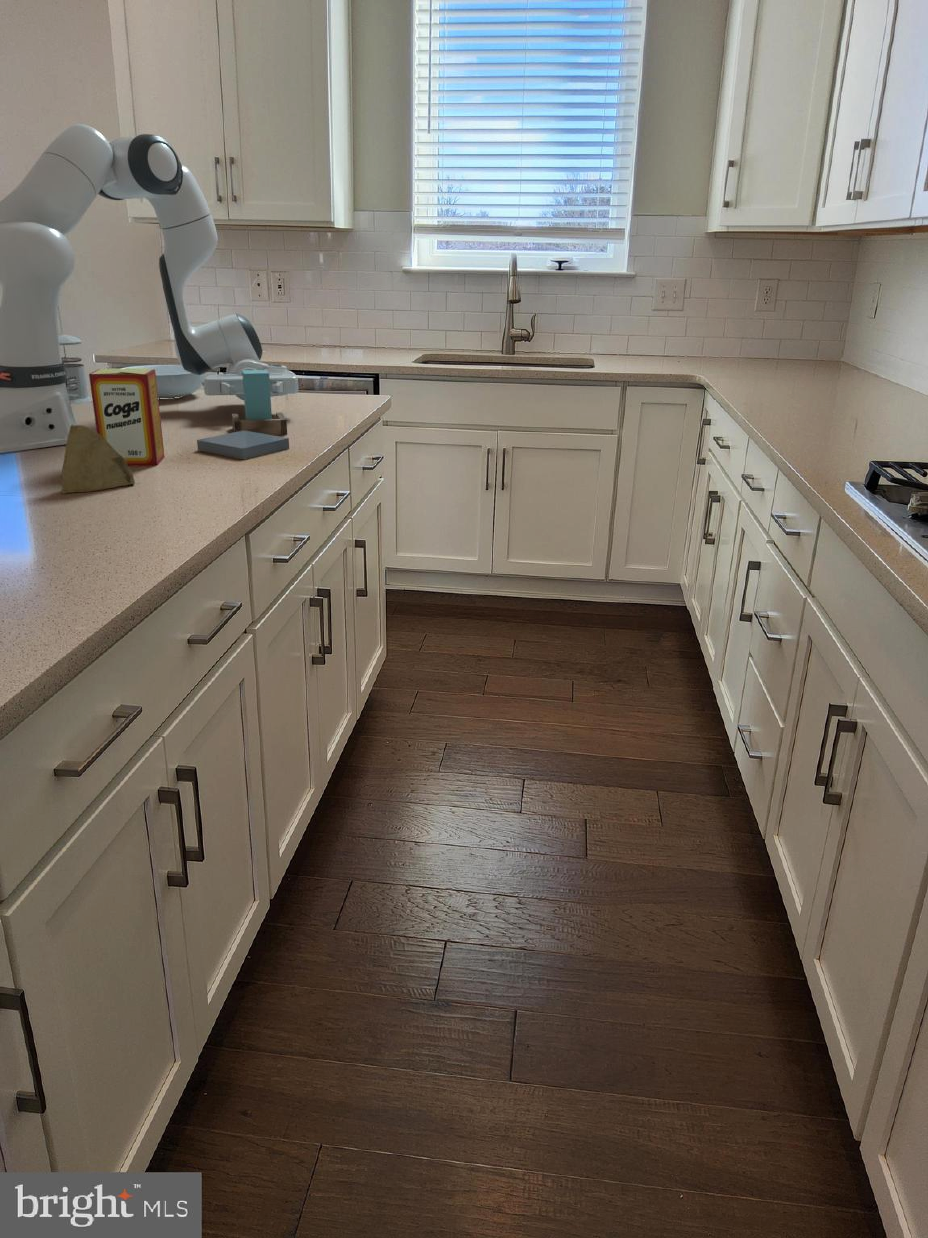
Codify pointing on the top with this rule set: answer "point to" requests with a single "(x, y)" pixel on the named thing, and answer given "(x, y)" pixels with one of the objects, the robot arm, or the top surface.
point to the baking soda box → (129, 413)
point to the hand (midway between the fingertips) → (253, 389)
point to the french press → (74, 372)
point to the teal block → (257, 394)
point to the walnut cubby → (261, 425)
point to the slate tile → (243, 444)
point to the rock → (92, 463)
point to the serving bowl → (174, 380)
